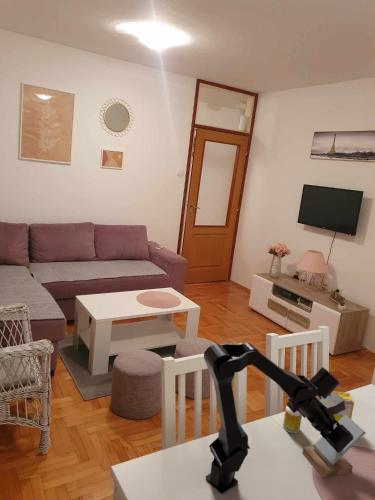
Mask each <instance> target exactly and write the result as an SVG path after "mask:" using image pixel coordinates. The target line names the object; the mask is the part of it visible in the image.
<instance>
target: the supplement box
mask: <svg viewBox="0 0 375 500" xmlns="http://www.w3.org/2000/svg"><path fill="white" fill-rule="evenodd" d="M333 392H336V393H337V394H339V395H340V396H341V397H342V398H343V399H344V403H345V407H346V409H345V410H344V411H341V412H339V413H337V414H335V415H334V417H335V420H336V421H337V422H338V421H339V420H340V419H341V418H342V417H343V416H344V415H345V414H346V415H347V416H348V417H349V418H350V419H351V420H352V416H353V411H354V405H355V401H354V400H353V398H352V396H351V394H350V392H349V393H348V392H344V391H343V392H342V391H335V390H334V391H333Z"/></svg>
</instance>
